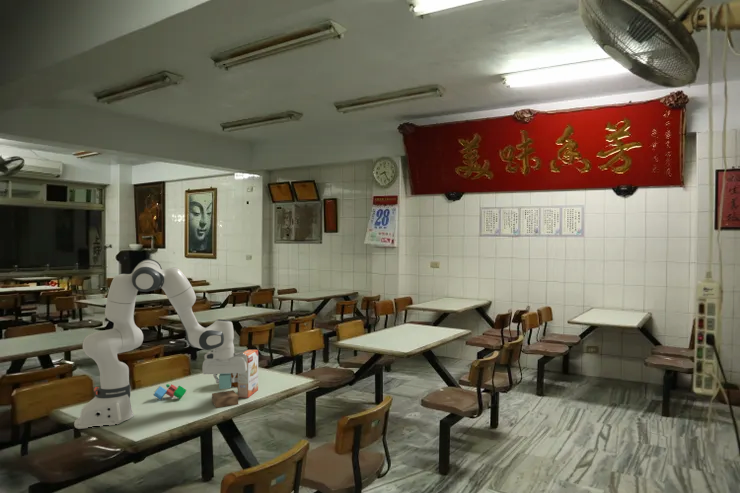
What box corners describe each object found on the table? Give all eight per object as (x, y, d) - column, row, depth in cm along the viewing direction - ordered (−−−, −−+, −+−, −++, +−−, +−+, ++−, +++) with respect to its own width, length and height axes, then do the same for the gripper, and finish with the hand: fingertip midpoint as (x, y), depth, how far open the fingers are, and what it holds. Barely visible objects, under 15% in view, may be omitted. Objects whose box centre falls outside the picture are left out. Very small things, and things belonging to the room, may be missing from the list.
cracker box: (249, 398, 238) (248, 355, 238) (237, 398, 239) (236, 355, 239) (259, 389, 252) (258, 349, 252) (248, 389, 253) (247, 349, 253)
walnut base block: (216, 407, 225) (216, 399, 225) (212, 401, 234) (211, 393, 234) (238, 404, 230) (238, 395, 230) (233, 398, 239) (233, 390, 239)
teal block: (219, 389, 228) (218, 376, 228) (220, 386, 233) (220, 373, 233) (230, 388, 229) (230, 375, 229) (231, 385, 234) (230, 372, 234)
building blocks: (173, 408, 239) (152, 395, 238) (184, 395, 245) (164, 382, 244) (176, 403, 233) (155, 389, 233) (187, 389, 239) (166, 375, 239)
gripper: (248, 351, 235) (248, 380, 235) (204, 352, 234) (205, 381, 234) (245, 354, 229) (246, 383, 229) (200, 355, 228) (201, 385, 228)
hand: (225, 382), depth 231 cm, fingers closed on teal block, 5 cm apart
